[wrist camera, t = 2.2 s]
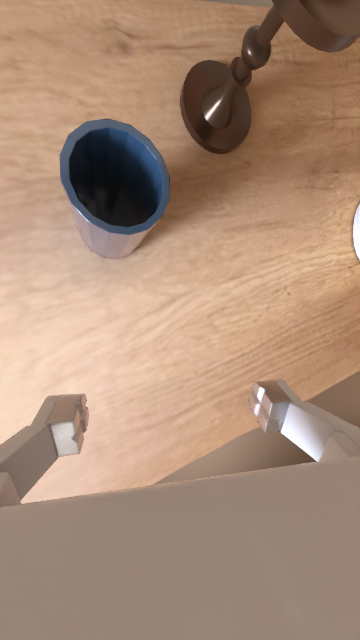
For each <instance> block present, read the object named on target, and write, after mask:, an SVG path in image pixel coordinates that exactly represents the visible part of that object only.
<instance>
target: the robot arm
mask: <svg viewBox="0 0 360 640" xmlns="http://www.w3.org/2000/svg"><path fill="white" fill-rule="evenodd" d="M353 240H354V246H355V250H356V253H357V256H358V258H359V260H360V203H359V206H358V208H357V211H356V214H355V218H354V225H353ZM251 389H252V390H253V392H252V393H251V394H250V395H249V406H250V409H251V411H252V413H253V414H254V415H255V416H257V417H258V421H257V422H258V423H259V425H260V427H261V428H262V430H263V432H264V433H267V432H279V431H281V433H282V434H283V435H285V436H286V437H287V438H289V439H290V440H291V441H292V442H294V443H295V444H296V445H297V446H299V447H300V448H301V449H303V450H304V451H305V452H306V453H308V454H309V455H310V456H311V457H313V458H314V459H315V460H316V461H318V462H312V463H305V464H298V465H291V466H284V467H277V468H270V469H263V470H256V471H249V472H242V473H235V474H229V475H221V476H214V477H207V478H200V479H193V480H186V481H179V482H172V483H166V484H158V485H151V486H144V487H137V488H130V489H123V490H116V491H109V492H102V493H95V494H88V495H81V496H74V497H67V498H60V499H53V500H47V501H40V502H33V503H26V504H21V502H20V501H21V499H22V498H23V497H24V496H25V495H26V494H27V493H28V491H29V490H30V489H31V488H32V487H33V486H34V485H35V483H36V482H37V481H38V480H39V479H40V478H41V477H42V476H43V474H44V473H45V472H46V471H47V470H48V469H49V468H50V466H51V465H52V464H53V463H54V462H55V461H56V460H57V458H58V457H60V456H67V455H74V454H80V451H81V448H82V444H83V441H84V437H83V433H84V432H85V431H86V430H87V426H88V418H89V414H88V408H87V407H86V406H85V404H86V401H87V400H86V395H85V394H69V395H53V396H48V397H47V398H46V399H45V401H44V403H43V404H42V406H41V408H40V410H39V411H38V413H37V415H36V417H35V418H34V420H33V422H32V424H31V426H26V427H25V428H23V429H22V430H21V431H19V432H18V433H16V434H15V435H14V436H12V437H11V438H10V439H8V440H7V441H5V442H4V443H3V444H1V445H0V640H360V428H358V427H356V426H354V425H352V424H350V423H348V422H346V421H344V420H342V419H340V418H338V417H336V416H334V415H332V414H330V413H328V412H326V411H324V410H322V409H320V408H318V407H316V406H314V405H313V404H311V403H308V402H307V401H302V400H301V399H300V398H299V397H298V396H297V395H296V393H295V392H294V391H293V390H292V389H291V388H290V387H289V386H288V385H287V384H286V383H285V382H284V381H283V380H281V379H277V380H268V381H255V382H253V383H252V386H251Z"/></svg>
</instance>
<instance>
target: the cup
mask: <svg viewBox="0 0 360 640" xmlns="http://www.w3.org/2000/svg"><path fill="white" fill-rule="evenodd" d="M60 178H61V183H62V186H63V188H64V191H65V194H66V197H67V200H68V202H69V205H70V208H71V211H72V214H73V217H74V219H75V222H76V225H77V228H78V230H79V233H80V235H81V237H82V239H83V241H84V242H85V244H86V245H87V246H88V247H89V248H90V249H91V250H92V251H93V252H95V253H96V254H98V255H100V256H102V257H105V258H111V259H117V258H122V257H125V256H127V255H129V254H131V253H132V252H133V251H134V250H135V249H136V248H137V247H138V246H139V245H140V243H141V242H142V241H143V240H144V238H145V237H146V236H147V235H148V234H149V232H150V231H151V230H152V229H153V227H154V226H155V225H156V224H157V223H158V221H159V220H160V219H161V218H162V216H163V214H164V211H165V209H166V207H167V204H168V202H169V195H170V179H169V175H168V172H167V169H166V166H165V163H164V160H163V158H162V156H161V154H160V153H159V152H158V150H157V149H156V148H155V146H154V145H153V143H152V142H151V141H150V139H149V138H148V137H146V136H145V135H143V134H142V133H141V132H139V131H138V130H137V129H135V128H134V127H132V126H131V125H129V124H126V123H122V122H118V121H115V120H111V119H100V120H94V121H87V122H85V123H83V124H82V125H81V126H80V127H78V128H77V129H76V130H74V131H73V132H72V133H70V134H69V136H68V137H67V140H66V142H65V144H64V147H63V149H62V151H61V154H60Z"/></svg>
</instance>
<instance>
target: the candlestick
mask: <svg viewBox="0 0 360 640" xmlns="http://www.w3.org/2000/svg"><path fill="white" fill-rule="evenodd" d="M272 1H273V3H274V4H273V6H272V8H271V9H270V11H269V13H268V14H267V16H266V18H265V19H264V21H263V23H262V24H261V26H259V25H253V26H251V27H250V28H249V29H248V30H247V32H246V33H245V35H244V39H243V44H242V50H241V54H242V55H241V57H236V58H234V59H233V61H232V62H231V64H230V67H227V66H226V65H224V64H222V63H220V62H217V61H212V60H207V61H202V62H200V63H197V64H196V65H195V66H194V67H192V68H191V70H190V71H189V73H188V74H187V77H186V79H185V82H184V84H183V87H182V90H181V96H180V106H181V113H182V117H183V120H184V123H185V125H186V127H187V129H188V131H189V133H190V134H191V136H192V137H193V139H194V140H195V141H196V142H197V143H198V144H199V145H200V146H202V147H203V148H204V149H206V150H208V151H210V152H213V153H217V154H224V153H228V152H231V151H232V150H234V149H235V148H236V147H237V146H238V145H239V144H240V143H241V142H242V141H243V140H244V139H245V137H246V135H247V133H248V131H249V128H250V123H251V107H250V102H249V98H248V95H247V92H246V90H245V88H246V87H247V86H248V84H249V83H250V81H251V77H252V73H251V71H252V70H256V69H259V68H260V67H262V66H264V65H265V64H266V63H267V61H268V60H269V57H270V54H271V40H272V39H273V37H274V36H275V34H276V33H277V31H278V30H279V28H280V27H281V25H282V24H283V22H284V21H285V22H286V23H287V24H288V26H289V27H290V28H291V29H292V30H293V32H294V33H295V34H296V35H297V36H298V37H300V38H301V39H302V40H303V41H304V42H305V43H307V44H308V45H310V46H312V47H314V48H316V49H318V50H321V51H326V52H337V51H341V50H343V49H345V48H347V47H349V46H350V45H351V44H352V43H353V42H354V41H356V40H357V39H358V38H359V37H360V0H272Z"/></svg>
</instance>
